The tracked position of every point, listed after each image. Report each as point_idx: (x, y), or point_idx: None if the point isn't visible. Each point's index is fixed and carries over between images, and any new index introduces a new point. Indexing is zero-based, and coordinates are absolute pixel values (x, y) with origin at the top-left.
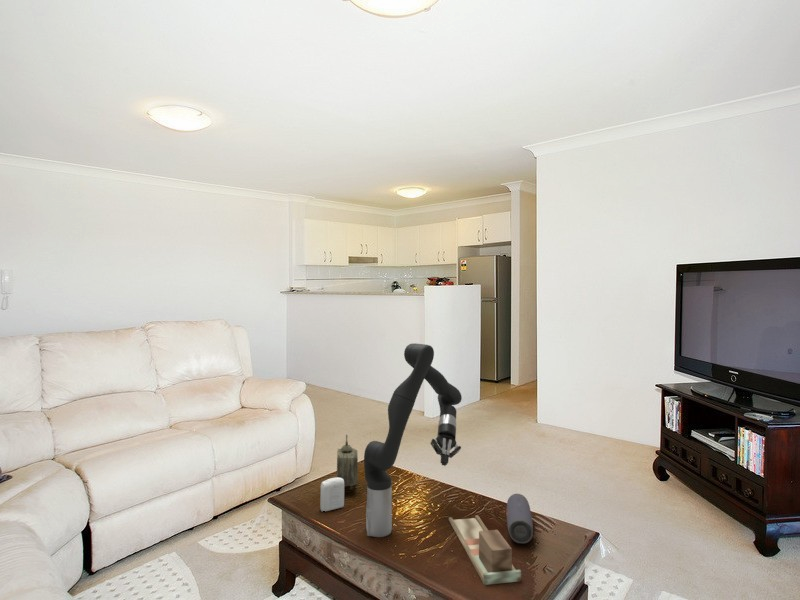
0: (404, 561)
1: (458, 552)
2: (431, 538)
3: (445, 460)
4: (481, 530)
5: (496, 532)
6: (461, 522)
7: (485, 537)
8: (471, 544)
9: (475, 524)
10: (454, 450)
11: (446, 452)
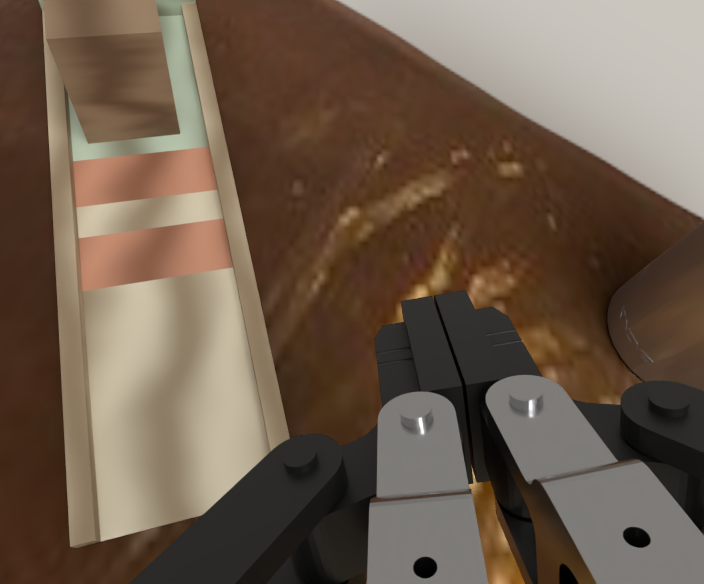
0: (488, 125)
1: (268, 174)
2: (397, 280)
3: (433, 312)
4: (100, 367)
5: (62, 18)
6: (214, 462)
7: None
8: (194, 228)
9: (120, 440)
10: (227, 564)
11: (460, 449)
